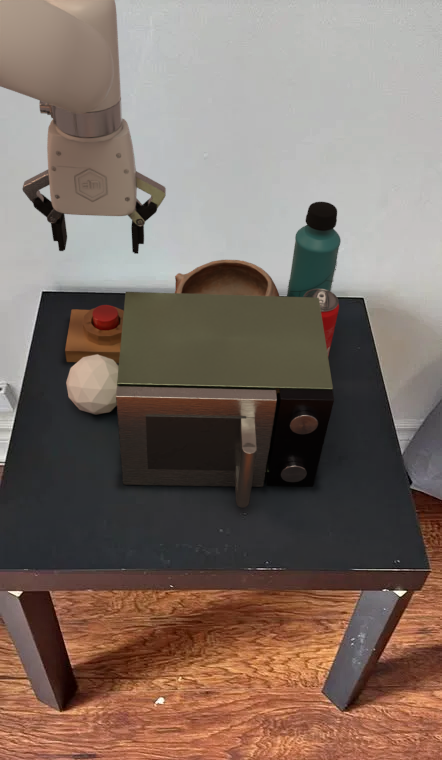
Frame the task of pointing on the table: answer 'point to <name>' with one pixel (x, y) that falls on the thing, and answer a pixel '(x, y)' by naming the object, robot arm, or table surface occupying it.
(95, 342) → the button block
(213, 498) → the table surface
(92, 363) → the geometric ball
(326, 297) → the beverage can
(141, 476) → the microwave door
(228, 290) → the bowl
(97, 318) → the release button
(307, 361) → the microwave
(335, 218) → the beverage bottle
